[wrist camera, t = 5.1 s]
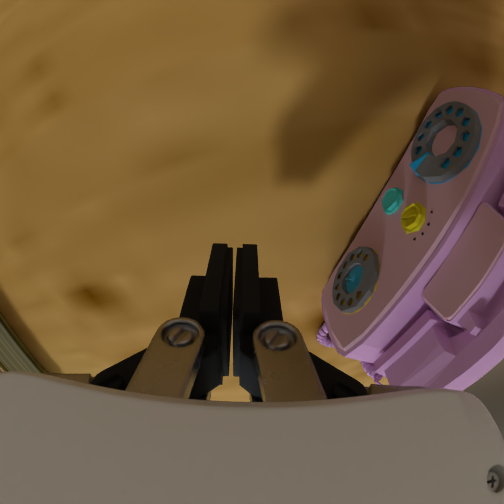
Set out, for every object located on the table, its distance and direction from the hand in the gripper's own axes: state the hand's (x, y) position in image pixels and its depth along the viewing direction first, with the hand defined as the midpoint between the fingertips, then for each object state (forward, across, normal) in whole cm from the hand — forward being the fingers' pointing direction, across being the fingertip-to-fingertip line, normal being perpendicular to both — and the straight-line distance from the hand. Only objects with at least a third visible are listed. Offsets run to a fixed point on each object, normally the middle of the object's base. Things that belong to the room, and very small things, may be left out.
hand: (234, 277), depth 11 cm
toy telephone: (+4, -9, 0) cm, 10 cm away
